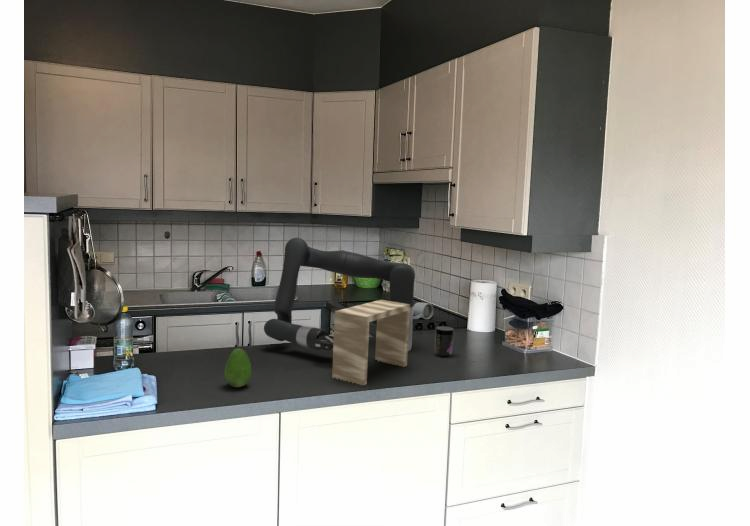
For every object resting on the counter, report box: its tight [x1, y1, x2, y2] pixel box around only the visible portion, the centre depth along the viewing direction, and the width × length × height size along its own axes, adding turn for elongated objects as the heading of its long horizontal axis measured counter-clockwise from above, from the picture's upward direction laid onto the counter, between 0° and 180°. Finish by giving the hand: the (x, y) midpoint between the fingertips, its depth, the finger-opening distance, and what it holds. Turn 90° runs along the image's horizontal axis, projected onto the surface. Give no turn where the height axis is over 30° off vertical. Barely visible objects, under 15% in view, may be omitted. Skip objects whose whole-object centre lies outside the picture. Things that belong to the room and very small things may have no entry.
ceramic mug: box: [413, 301, 434, 320], centre depth 289 cm, size 11×8×8 cm
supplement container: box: [434, 325, 455, 358], centre depth 224 cm, size 7×7×10 cm
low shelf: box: [331, 299, 410, 387], centre depth 199 cm, size 28×12×22 cm, turn 148°
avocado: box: [224, 347, 252, 389], centre depth 179 cm, size 8×8×12 cm
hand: (350, 346), depth 205 cm, fingers closed on supplement bottle, 5 cm apart
